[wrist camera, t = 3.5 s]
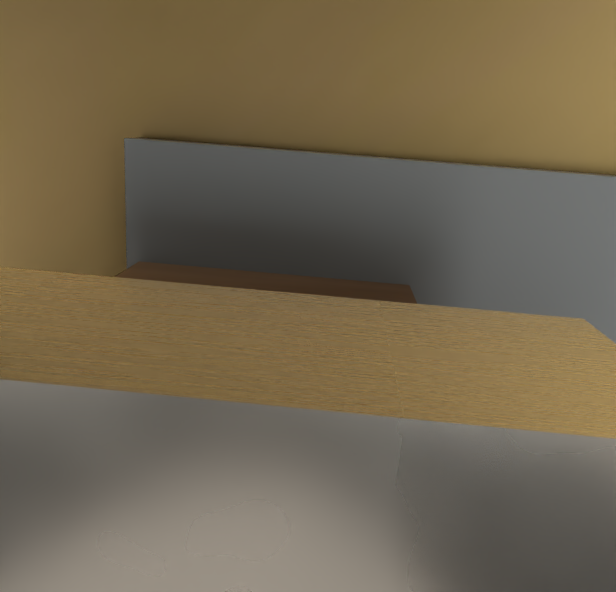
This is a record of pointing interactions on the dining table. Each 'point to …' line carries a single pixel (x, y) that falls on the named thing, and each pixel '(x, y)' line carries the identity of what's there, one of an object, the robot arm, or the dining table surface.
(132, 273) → the stand
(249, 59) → the dining table surface
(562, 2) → the dining table surface
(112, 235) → the dining table surface
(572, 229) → the board
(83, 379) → the silver square ring
